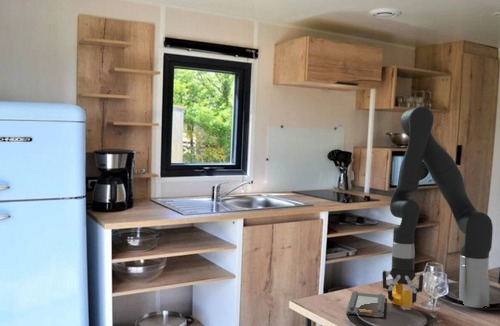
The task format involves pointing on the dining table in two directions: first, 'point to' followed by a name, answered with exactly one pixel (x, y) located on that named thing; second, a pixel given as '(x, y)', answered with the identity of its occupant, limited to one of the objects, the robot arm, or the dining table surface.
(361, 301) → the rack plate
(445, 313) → the dining table surface
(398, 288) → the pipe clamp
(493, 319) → the dining table surface
